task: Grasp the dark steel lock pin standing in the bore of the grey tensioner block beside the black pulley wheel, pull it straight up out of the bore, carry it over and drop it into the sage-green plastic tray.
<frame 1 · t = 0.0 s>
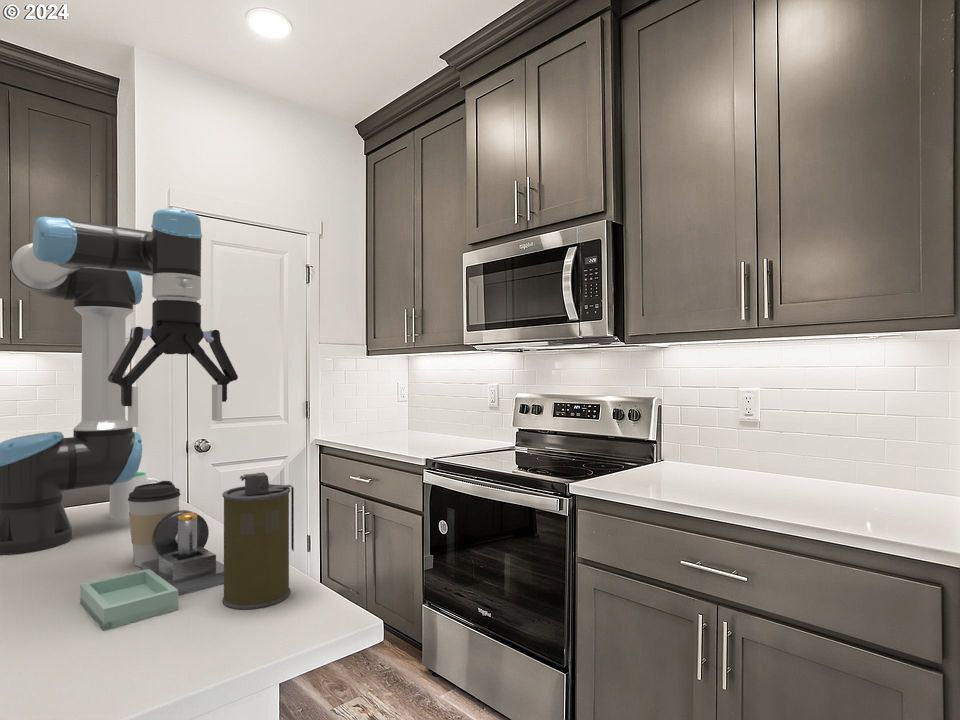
hand: (176, 423, 101), 28 cm above the counter, fingers open, 13 cm apart
lock pin: (187, 572, 102), point 2 cm above the counter, touching tensioner
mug: (136, 515, 151), on the counter
coffee cup: (154, 562, 114), on the counter
tray: (128, 606, 92), on the counter
canister: (258, 597, 96), on the counter
tensioner: (186, 577, 105), on the counter
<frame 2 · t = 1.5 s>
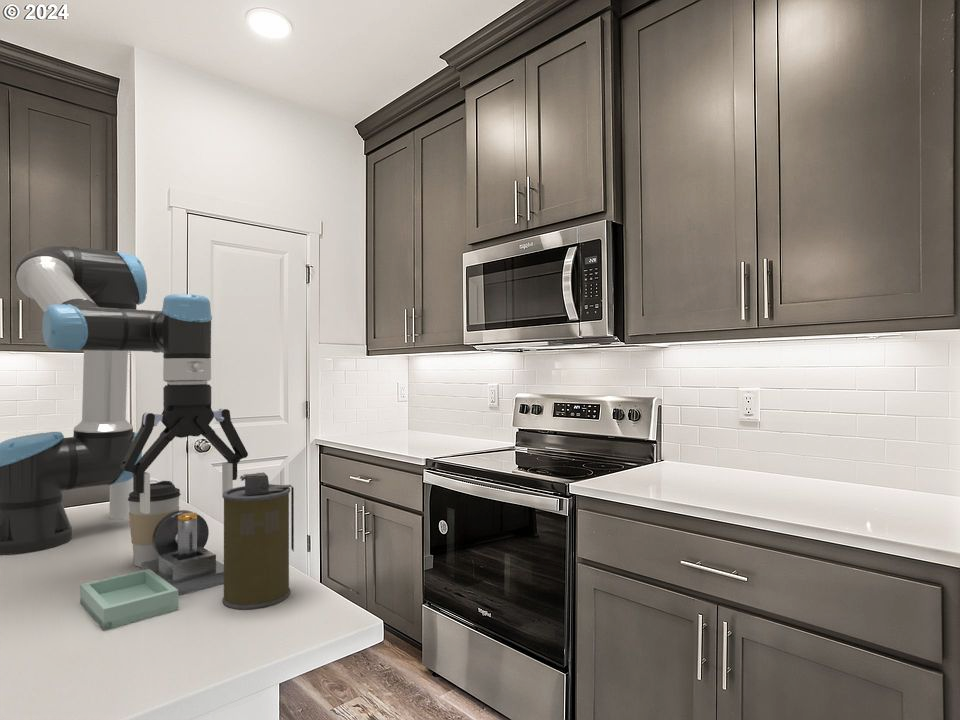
hand: (188, 505, 102), 14 cm above the counter, fingers open, 13 cm apart
nothing on the counter moved.
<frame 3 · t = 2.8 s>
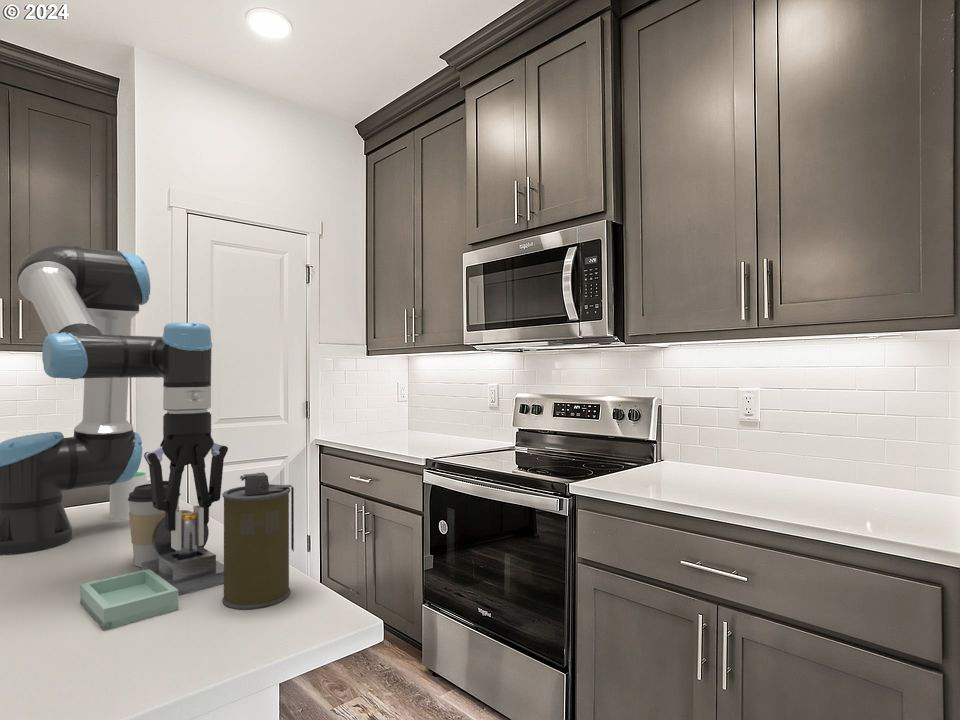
hand: (187, 545, 102), 7 cm above the counter, fingers closed on lock pin, 3 cm apart
lock pin: (187, 572, 102), point 2 cm above the counter, touching gripper, tensioner
everything else where it was.
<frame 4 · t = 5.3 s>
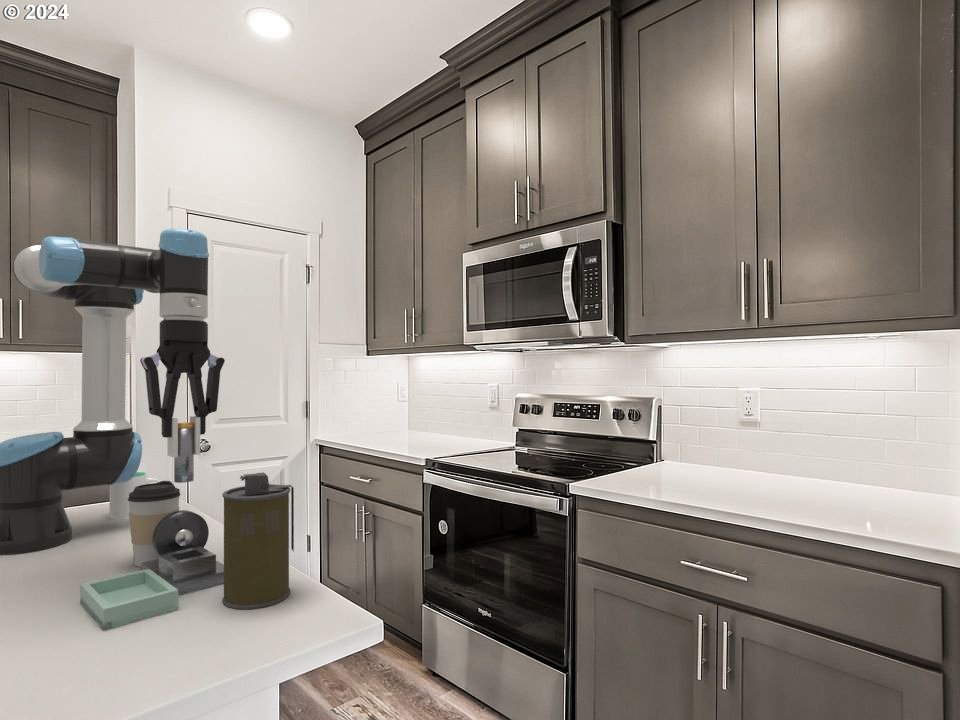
hand: (183, 454, 101), 23 cm above the counter, fingers closed on lock pin, 3 cm apart
lock pin: (184, 481, 101), point 18 cm above the counter, touching gripper
everything else where it was.
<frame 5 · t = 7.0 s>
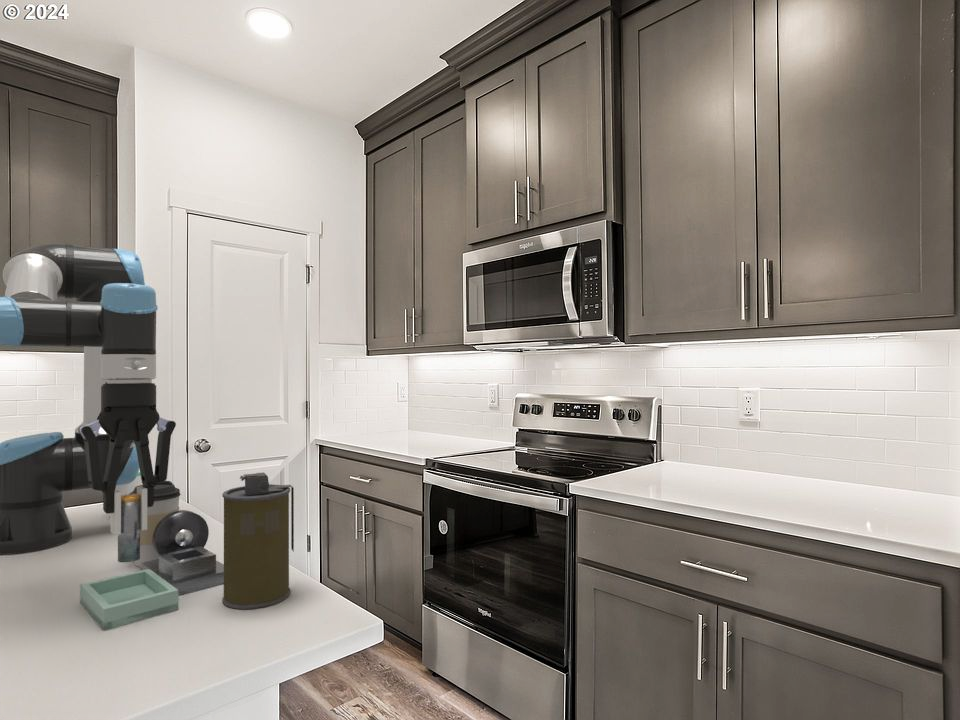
hand: (128, 530, 92), 12 cm above the counter, fingers closed on lock pin, 3 cm apart
lock pin: (129, 559, 92), point 7 cm above the counter, touching gripper
everything else where it was.
when the fingers open (9 cm above the counter, at t = 8.0 s): lock pin drops 3 cm, resting on tray.
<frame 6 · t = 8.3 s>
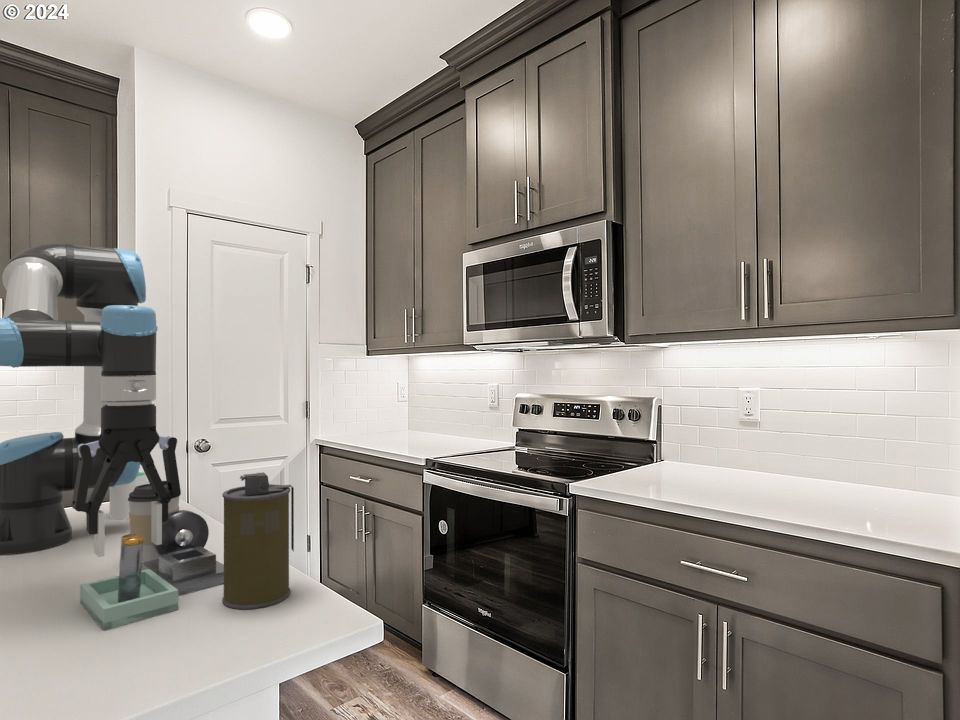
hand: (128, 548, 92), 9 cm above the counter, fingers open, 7 cm apart
lock pin: (128, 598, 92), point 1 cm above the counter, tilted 7°, touching tray
everything else where it was.
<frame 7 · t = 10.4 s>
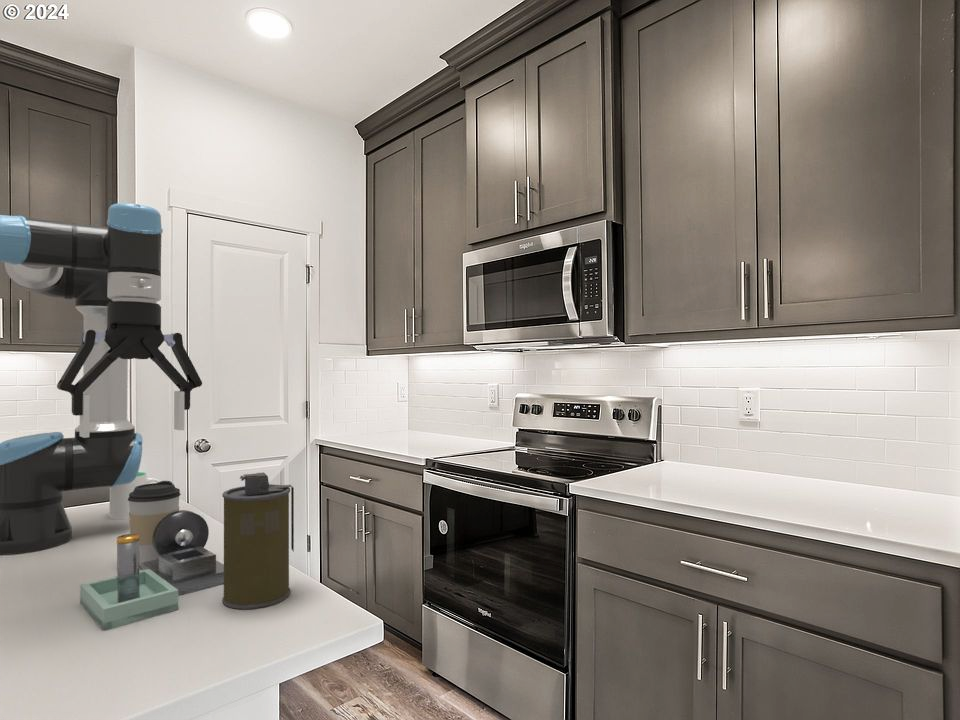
hand: (134, 433, 95), 27 cm above the counter, fingers open, 13 cm apart
lock pin: (128, 599, 92), point 1 cm above the counter, touching tray
everything else where it was.
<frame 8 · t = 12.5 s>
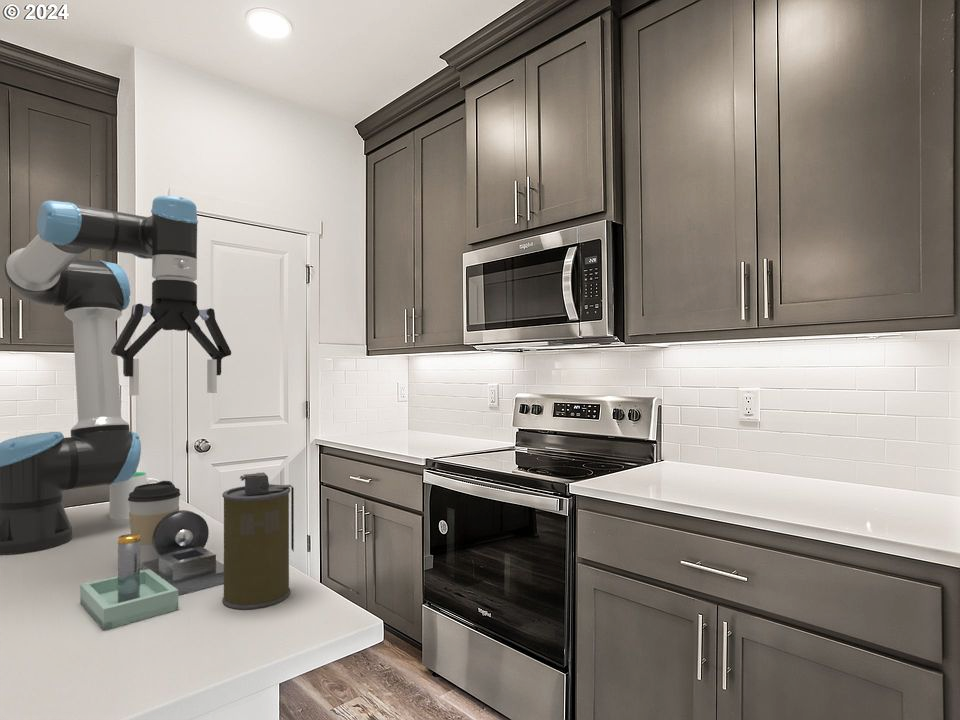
hand: (174, 394, 110), 33 cm above the counter, fingers open, 13 cm apart
nothing on the counter moved.
at the end: lock pin inside the target area on the tray (0.0 cm from its centre), point 1.0 cm above the tray's base; the gripper is holding nothing; lock pin moved 10.6 cm from its start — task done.
